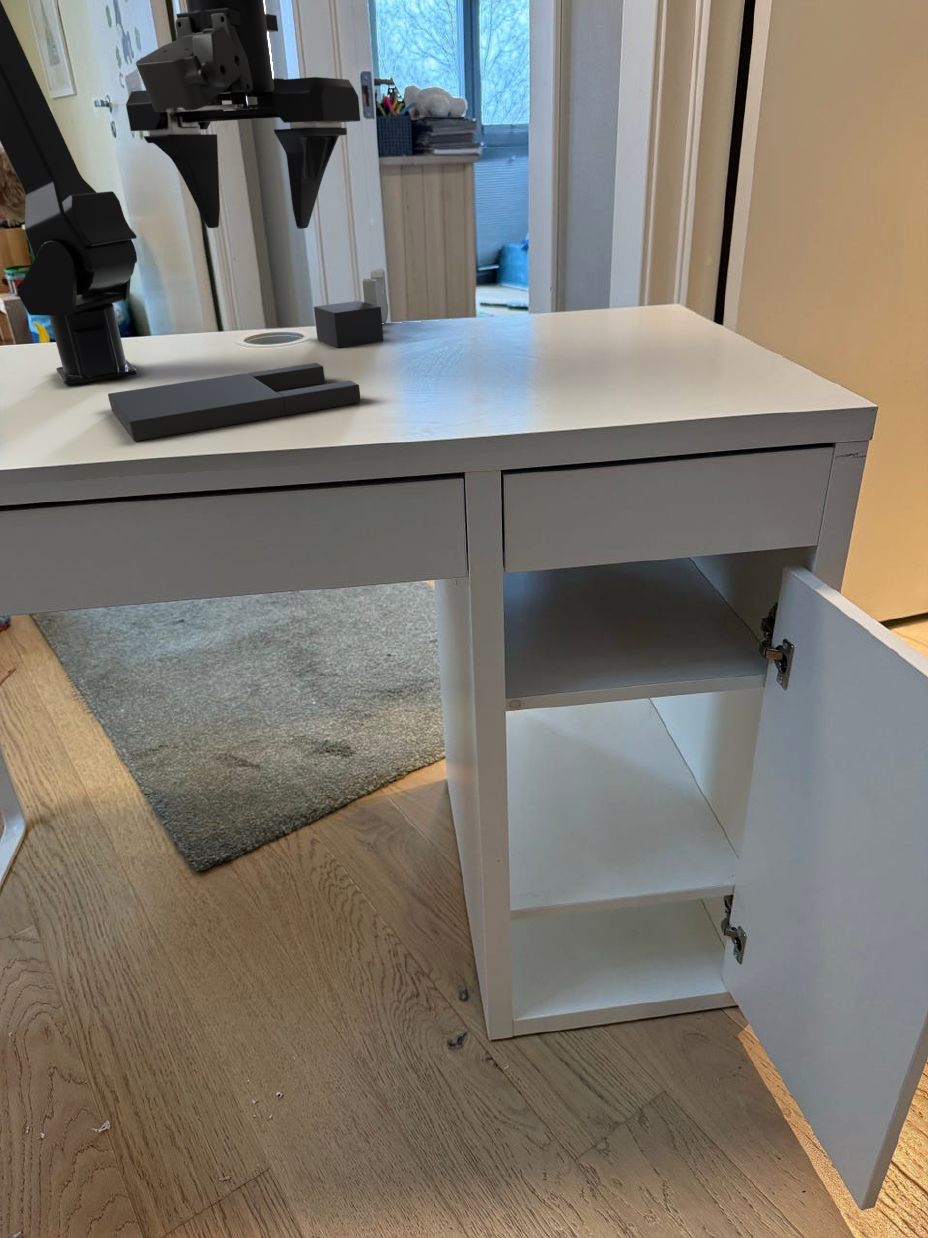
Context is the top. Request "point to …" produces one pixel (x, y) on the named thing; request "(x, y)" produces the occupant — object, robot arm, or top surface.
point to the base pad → (228, 401)
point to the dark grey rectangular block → (348, 323)
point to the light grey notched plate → (376, 291)
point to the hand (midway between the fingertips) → (256, 227)
